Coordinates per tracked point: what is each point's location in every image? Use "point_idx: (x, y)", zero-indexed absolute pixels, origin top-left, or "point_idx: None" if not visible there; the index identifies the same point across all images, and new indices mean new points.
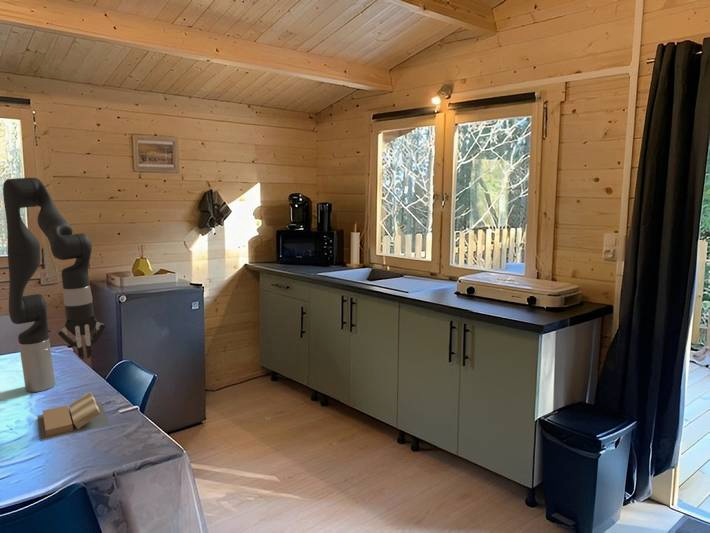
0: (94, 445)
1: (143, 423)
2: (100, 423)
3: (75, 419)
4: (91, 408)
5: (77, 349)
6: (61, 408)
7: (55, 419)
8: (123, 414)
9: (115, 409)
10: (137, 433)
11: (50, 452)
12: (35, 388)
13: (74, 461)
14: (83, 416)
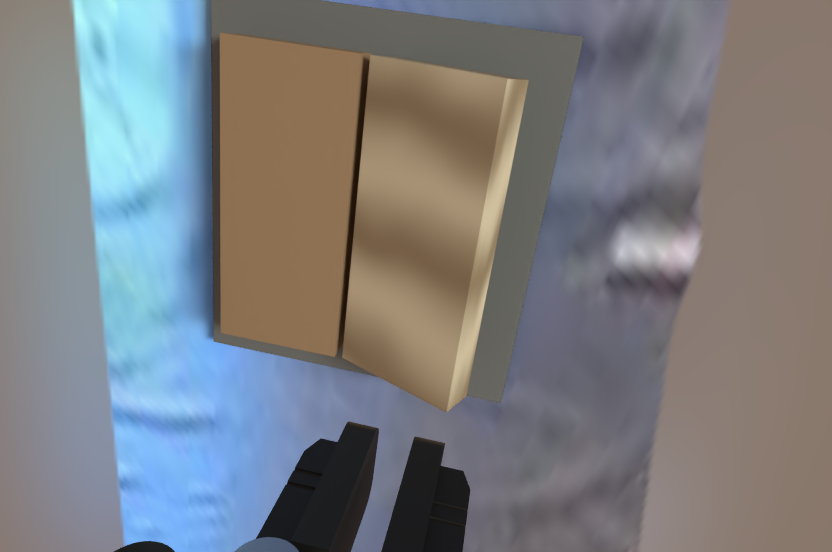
0: (392, 497)
1: (630, 471)
2: None
3: (355, 326)
4: (432, 358)
5: (268, 532)
6: (321, 87)
7: (272, 236)
8: (610, 306)
9: (610, 204)
10: (562, 531)
11: (247, 431)
12: None
13: None
14: (385, 367)
